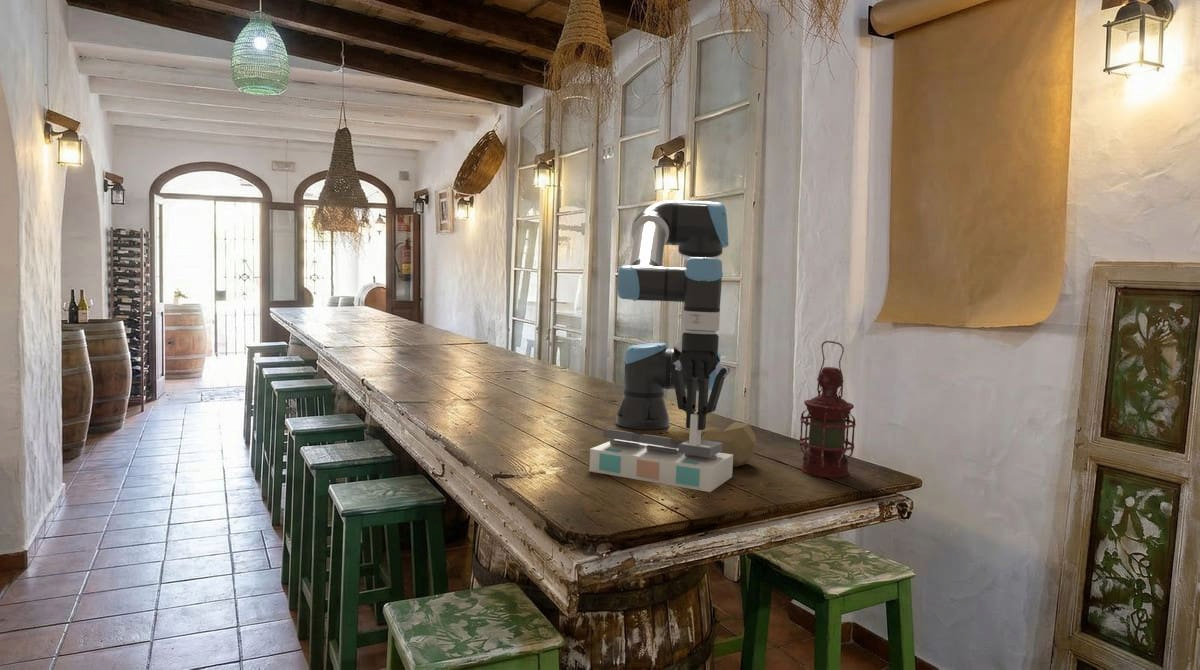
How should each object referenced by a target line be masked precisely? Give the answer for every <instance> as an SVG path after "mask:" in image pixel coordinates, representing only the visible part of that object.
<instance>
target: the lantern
mask: <svg viewBox="0 0 1200 670" xmlns="http://www.w3.org/2000/svg"><path fill="white" fill-rule="evenodd" d="M826 343H827V344H828V343H830V344H835V345H839V346H840V347H841V349H842V350H841V355H840V358H839V360H838V367H835V366H834V367H833V366H832V367H831V366H825V365H824V364H825V360H826V359H825V355H824V354H825V353H824V345H825V344H826ZM820 347H821V353H822V364H821V367H820V370H819V371H818V372H819V373H818V376H817V378H816V380H817V388H816V389H817V395H816V396H815V397H813V398H811V399H805V400H804V402H803V403H804V406H806V409H805V410H803V411H802V412H801V415H800V434H799V435H800V436H799V440H798V443H799V447H800V450H801V451H802V453H803V457H802V460H803V462H802V465H801V467H800V470H801V471H802V472H803V473H804V474H807V475H810V476H814V477H818V478H827V479H840V478H845V477H847V476H849V466H848V465H849V459H850V458H851V457H852V455H853V454H854V449H855V428H856V425H857V424H856V419H855V416H854V415H852V414H851V410H852V409H854V408H855V405H854V404H853V403H851V402H847V401H846V400H845V399H844V398H843V396H844V395H843V394H844V393H843V390H844V380H845V379H844V376H843V372H842V369H841V368H842V367H841V361H842V358H843V356H844V352H845V351H844V350H845V347H844V346H843V344H841V343H840V342H838V341H832V340H825V341H823V342H822V344H821V346H820ZM838 389H839V391H838ZM806 412H808V414H807V415H806V416H805V415H804V414H805V413H806ZM850 417H851V418H852V419H850ZM803 426H804V427H805V435H804V437H803ZM808 427H809V429H808ZM849 428H850V429H851V428H852V435H851V441H849ZM848 446H849V447H848ZM803 449H804V450H803ZM847 451H850V454H849V455H848V456H847V457H846V454H845V453H846V452H847Z"/></svg>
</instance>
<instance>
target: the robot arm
mask: <svg viewBox="0 0 1200 670" xmlns="http://www.w3.org/2000/svg"><path fill="white" fill-rule="evenodd" d="M631 237H632V241H633V244H632V245H633V246H632V250H631V256H630V262H629V265H621V266H620V267H619V268H618V273H617V296H618V298H619V299H622V300H631V301H634V302H635V301H645V302H646V301H652V302H675V303H681V309H680V311H681V312H680V327H679V328H680V331H679V339H677V340H676V341H675V342H674V344H673V348H668V345H667V343H665V342H650V343H649V342H648V343H639V344H633V345H631V346H629V347H627V349H626V350H625V355H624V356H625V357H624V363H623V364H624V376H623V396H622V400H621V403H620V405H619V408H618V410H617V414H616V417H615V418H616V419H615V420H616V421H615V423H616V425H617V426H620V427H623V428H627V429H628V428H629V429H635V430H660V429H661V430H662V429H666V428H668V427H669V426H670V415H669V412H668V409H667V405H666V401H665V391H666V390H673V391H675V397H676V404H677V408H678V410H681V411H683V412H685V415H686V416H685V417H686V419H685V420H686V421H685V428H686V429H689V438H688V440H689V445H690V446H698V445H700V444H701V437H702V431H704V430H706V427H707V426H706V424H707V414H710V413H713V412H715V411H716V409H717V407H718V406H717V405H718V402H719V399H720V395H721V392H722V389H723V386H724V382H725V379H726V377H727V376H728V375H729V373H730V371H731V369H730V368H729V367H725V366H724V365H723V364H722V363H721V352H720V351H719V340H720V336H719V334H718V333H717V332H720V318H721V298H722V297H721V296H722V286H723V285H722V281H723V275H724V273H723V261H722V260H721V259H720V256H722V254H723V249H724V248H727V247H728V246H729V229H728V217H727V208H726V206H725V205H724V204H723V203H722V202H719V201H718V202H717V201H716V202H715V201H709V200H662V201H659V202H656V203H654V204H651V205H650V206H648V207H646V208H645V209H643V210H642V211H641V212H640V213H639V214H638V215H637V216H636V218H635V219H634V220H633V224H632V227H631ZM665 246H678V253H679V255H680V256H682V258H683V267H676V266H675V267H671V266H663V263H664V251H665V250H664V249H665ZM710 391H711V392H710ZM697 392H698V396H697ZM709 392H710V395H709ZM697 397H698V400H697ZM696 408H697V409H696Z"/></svg>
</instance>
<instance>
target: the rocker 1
mask: <svg viewBox="0 0 1200 670" xmlns="http://www.w3.org/2000/svg"><path fill="white" fill-rule="evenodd" d="M602 433H603V435H602V438H606V439H611V440H614V439H618V440H625V441H631V442H638V443H640V437H641V434H639V433H635V432H632V431H624V430H618V429H610V428H603V432H602Z"/></svg>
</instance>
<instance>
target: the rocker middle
mask: <svg viewBox="0 0 1200 670" xmlns="http://www.w3.org/2000/svg"><path fill="white" fill-rule="evenodd" d="M640 435H641V437H640V443H645V444H652V445H658V446H665V447H672V448H678V449H679V444H680V443H683V442H685V441H684V440H679V439H674V438H672V437H666V436H660V435H653V434H645V433H643V434H640Z"/></svg>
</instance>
